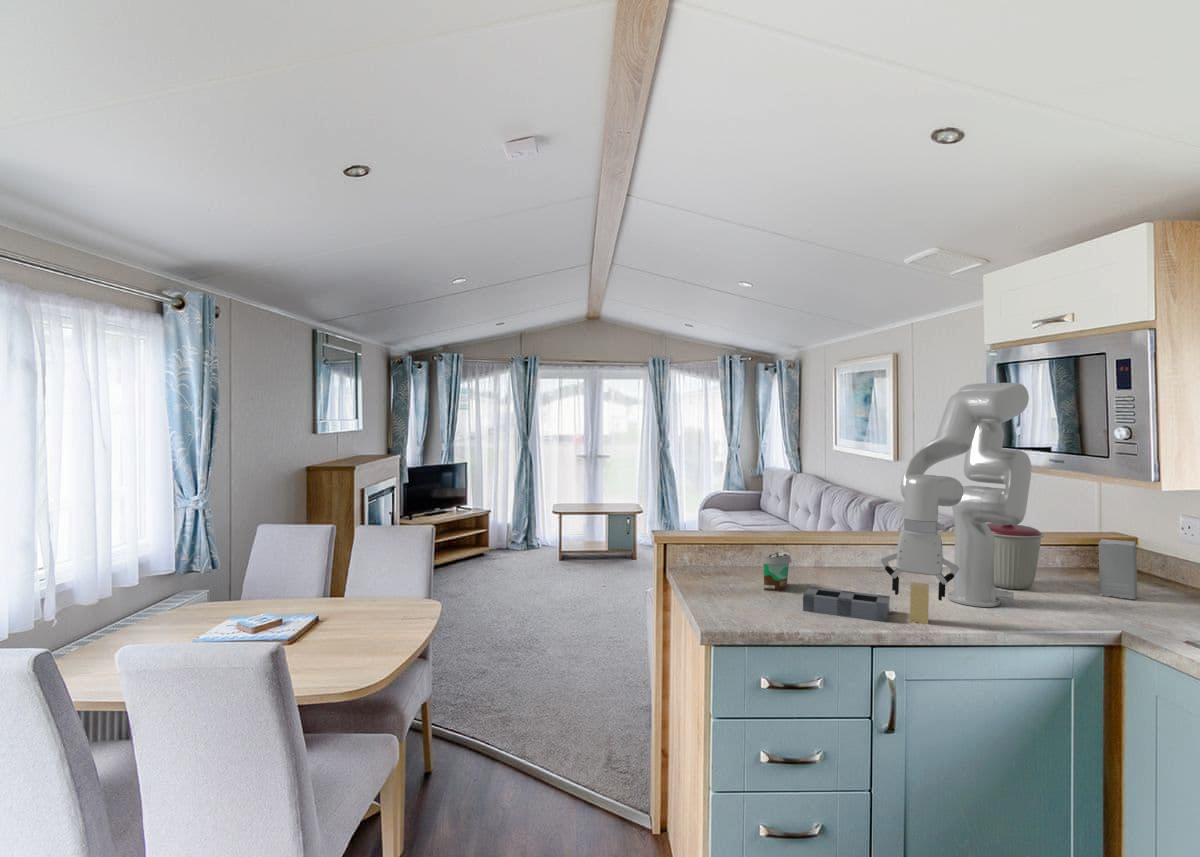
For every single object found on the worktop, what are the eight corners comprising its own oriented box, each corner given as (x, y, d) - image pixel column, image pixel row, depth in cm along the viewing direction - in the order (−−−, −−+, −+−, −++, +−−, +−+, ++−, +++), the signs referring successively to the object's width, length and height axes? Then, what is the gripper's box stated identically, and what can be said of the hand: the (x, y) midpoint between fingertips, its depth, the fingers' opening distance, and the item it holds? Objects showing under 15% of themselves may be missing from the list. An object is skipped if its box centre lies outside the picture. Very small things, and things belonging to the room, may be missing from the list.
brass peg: (928, 620, 164) (928, 584, 164) (928, 624, 161) (928, 587, 160) (910, 617, 166) (911, 582, 166) (909, 622, 162) (910, 585, 162)
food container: (783, 594, 186) (784, 559, 186) (762, 591, 190) (763, 556, 190) (795, 585, 197) (796, 551, 197) (775, 582, 200) (776, 549, 200)
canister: (1057, 593, 190) (1058, 520, 190) (993, 592, 191) (995, 520, 190) (1018, 578, 208) (1020, 511, 208) (960, 577, 209) (962, 511, 208)
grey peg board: (889, 611, 171) (889, 596, 171) (887, 622, 162) (887, 605, 162) (809, 601, 180) (809, 586, 180) (802, 610, 171) (803, 595, 171)
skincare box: (1137, 596, 188) (1138, 541, 188) (1135, 601, 183) (1136, 544, 182) (1100, 591, 194) (1101, 537, 193) (1097, 595, 188) (1098, 540, 188)
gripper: (959, 528, 162) (957, 598, 162) (883, 522, 170) (881, 588, 170) (961, 532, 155) (958, 605, 155) (881, 525, 163) (878, 594, 163)
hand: (918, 596), depth 163 cm, fingers open, 9 cm apart
